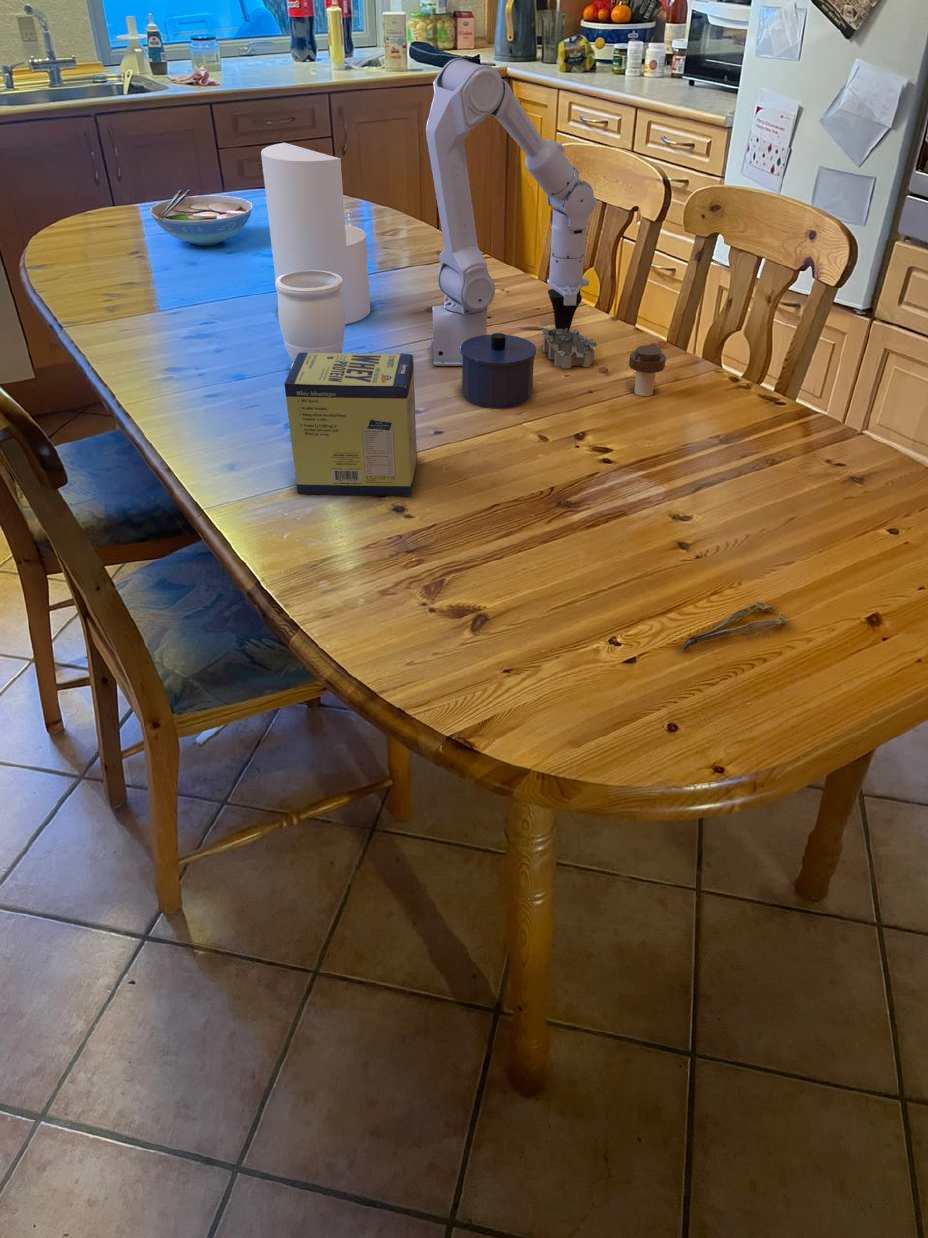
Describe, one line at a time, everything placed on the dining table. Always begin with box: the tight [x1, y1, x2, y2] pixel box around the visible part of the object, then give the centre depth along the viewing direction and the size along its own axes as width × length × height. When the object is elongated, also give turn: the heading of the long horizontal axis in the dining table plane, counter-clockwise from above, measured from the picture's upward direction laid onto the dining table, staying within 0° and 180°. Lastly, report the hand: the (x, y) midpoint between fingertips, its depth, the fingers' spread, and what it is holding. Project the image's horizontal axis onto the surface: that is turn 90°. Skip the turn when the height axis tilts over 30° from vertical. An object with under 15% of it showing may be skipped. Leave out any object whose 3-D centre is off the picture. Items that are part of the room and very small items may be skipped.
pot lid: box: [460, 332, 537, 366], centre depth 146 cm, size 12×12×3 cm
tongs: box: [681, 601, 788, 652], centre depth 101 cm, size 4×13×2 cm, turn 123°
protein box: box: [283, 352, 418, 497], centre depth 124 cm, size 10×16×16 cm
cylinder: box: [260, 142, 371, 325], centre depth 173 cm, size 17×17×28 cm
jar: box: [274, 270, 346, 369], centre depth 154 cm, size 11×10×15 cm
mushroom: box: [628, 345, 667, 397], centre depth 150 cm, size 6×6×7 cm
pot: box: [461, 356, 535, 409], centre depth 149 cm, size 11×11×7 cm
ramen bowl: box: [149, 189, 253, 247], centre depth 215 cm, size 25×23×8 cm
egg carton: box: [541, 327, 598, 370], centre depth 162 cm, size 11×8×4 cm
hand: (562, 332), depth 169 cm, fingers closed
